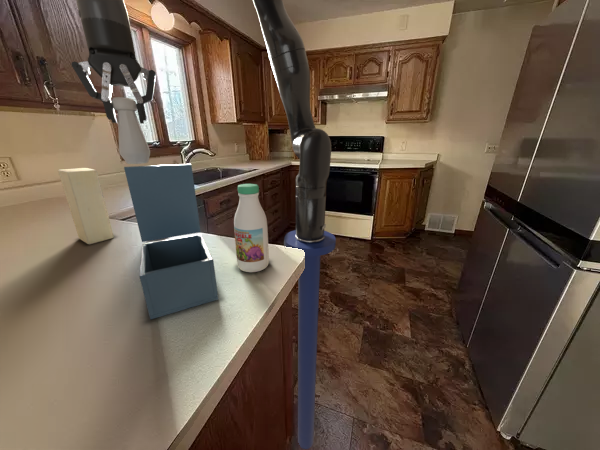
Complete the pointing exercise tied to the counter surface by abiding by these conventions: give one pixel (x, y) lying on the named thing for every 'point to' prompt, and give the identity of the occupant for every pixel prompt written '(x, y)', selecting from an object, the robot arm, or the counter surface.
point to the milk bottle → (250, 230)
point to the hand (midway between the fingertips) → (128, 122)
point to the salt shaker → (130, 132)
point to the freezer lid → (163, 200)
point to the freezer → (177, 275)
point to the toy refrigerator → (86, 204)
